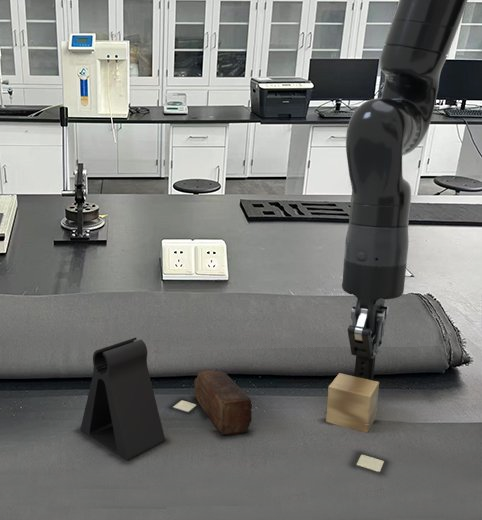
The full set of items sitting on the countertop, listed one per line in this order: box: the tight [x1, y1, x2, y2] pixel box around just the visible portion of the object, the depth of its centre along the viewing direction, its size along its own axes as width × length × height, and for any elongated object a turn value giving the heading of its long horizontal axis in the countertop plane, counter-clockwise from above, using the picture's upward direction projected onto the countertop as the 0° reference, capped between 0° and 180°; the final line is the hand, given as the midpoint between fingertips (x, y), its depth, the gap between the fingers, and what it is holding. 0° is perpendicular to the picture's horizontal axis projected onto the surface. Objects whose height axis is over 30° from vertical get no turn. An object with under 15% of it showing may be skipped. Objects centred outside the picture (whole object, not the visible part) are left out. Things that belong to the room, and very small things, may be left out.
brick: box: [193, 369, 253, 436], centre depth 70 cm, size 11×4×5 cm, turn 13°
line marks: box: [172, 399, 385, 473], centre depth 66 cm, size 26×2×1 cm, turn 55°
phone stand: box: [79, 337, 166, 462], centre depth 64 cm, size 9×6×12 cm, turn 42°
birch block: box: [325, 372, 380, 434], centre depth 68 cm, size 5×5×5 cm
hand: (363, 380), depth 73 cm, fingers closed
